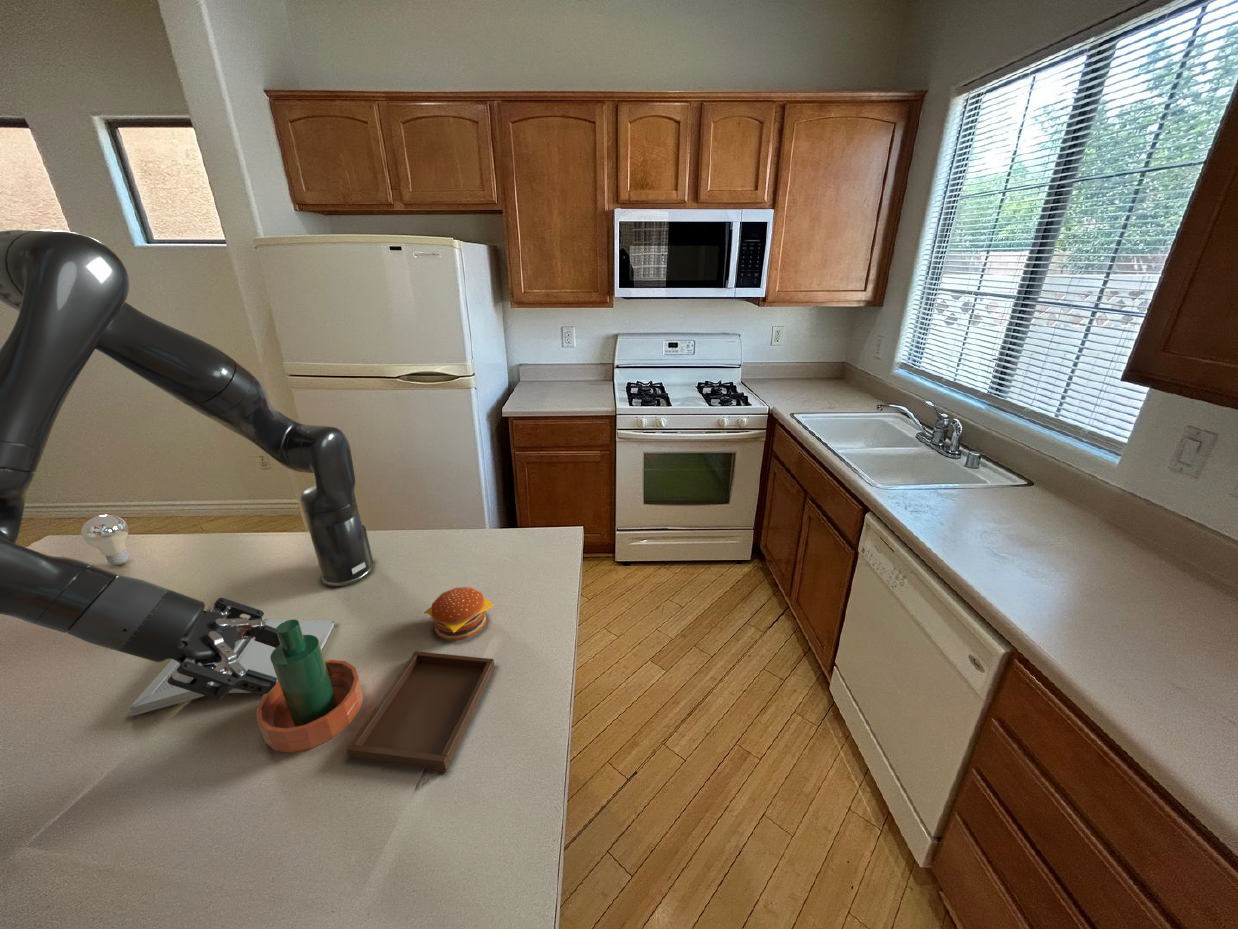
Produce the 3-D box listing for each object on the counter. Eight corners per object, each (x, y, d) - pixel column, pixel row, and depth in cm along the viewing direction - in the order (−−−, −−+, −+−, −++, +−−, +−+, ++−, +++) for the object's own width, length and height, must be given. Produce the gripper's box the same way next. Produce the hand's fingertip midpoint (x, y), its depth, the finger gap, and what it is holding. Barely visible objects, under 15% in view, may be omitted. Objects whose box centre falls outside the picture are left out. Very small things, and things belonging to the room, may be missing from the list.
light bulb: (147, 561, 106) (126, 514, 101) (104, 577, 100) (79, 527, 96) (136, 552, 109) (115, 505, 105) (94, 567, 104) (70, 518, 99)
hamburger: (464, 602, 93) (460, 574, 91) (497, 621, 88) (494, 592, 86) (422, 629, 86) (417, 600, 84) (456, 652, 81) (451, 621, 79)
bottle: (311, 694, 72) (284, 610, 66) (345, 698, 72) (321, 613, 66) (283, 727, 67) (250, 639, 61) (320, 731, 67) (290, 643, 60)
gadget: (336, 626, 87) (332, 610, 86) (304, 692, 73) (298, 674, 72) (193, 644, 83) (186, 627, 81) (131, 718, 69) (121, 699, 68)
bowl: (308, 678, 76) (301, 656, 74) (380, 685, 75) (375, 664, 73) (242, 749, 65) (232, 726, 63) (326, 760, 63) (318, 737, 62)
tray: (416, 660, 79) (414, 651, 79) (494, 668, 78) (493, 658, 77) (349, 760, 63) (346, 749, 62) (446, 772, 62) (444, 761, 61)
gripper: (131, 633, 50) (287, 681, 59) (184, 562, 62) (306, 610, 71) (86, 686, 50) (248, 726, 59) (147, 605, 62) (274, 648, 71)
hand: (280, 663), depth 65 cm, fingers open, 8 cm apart
